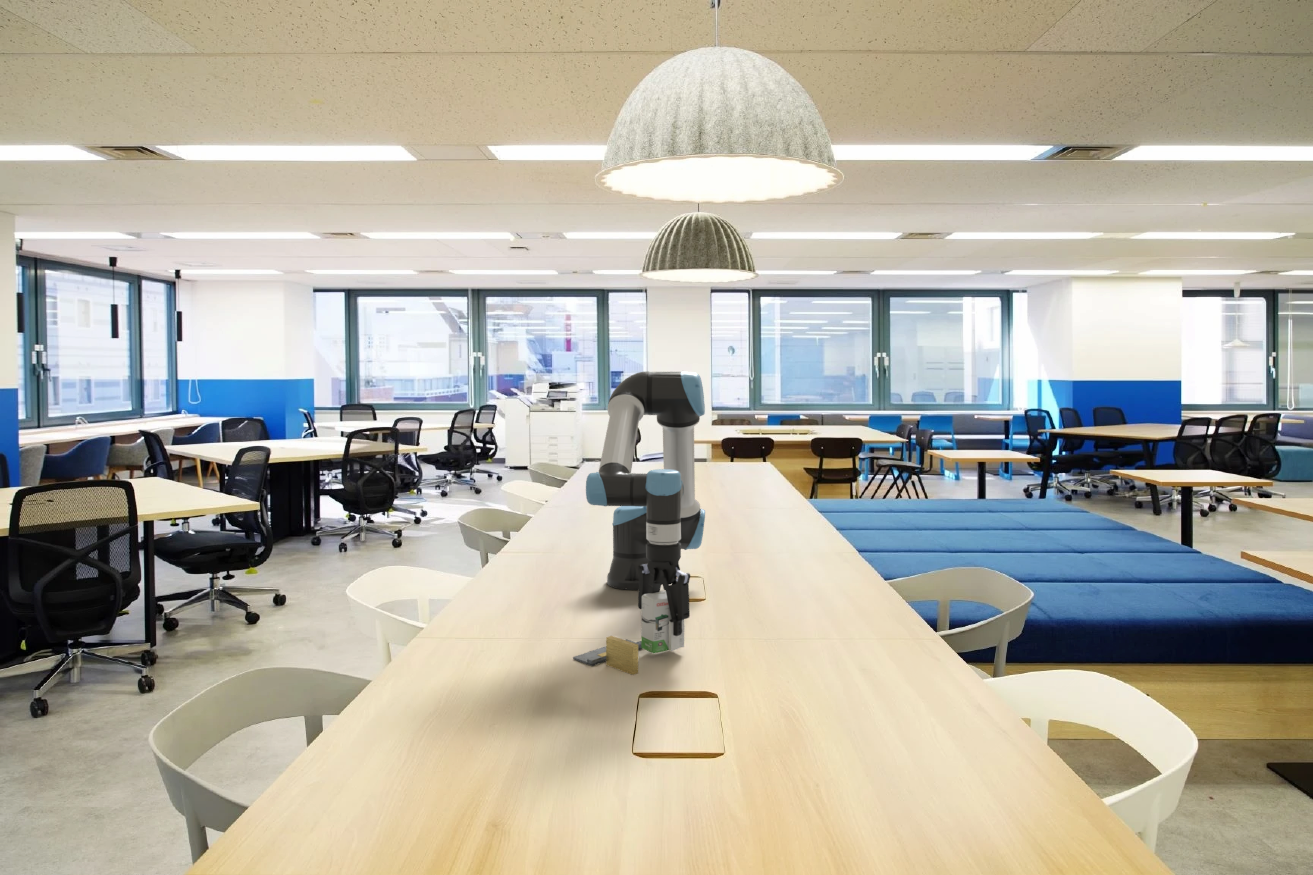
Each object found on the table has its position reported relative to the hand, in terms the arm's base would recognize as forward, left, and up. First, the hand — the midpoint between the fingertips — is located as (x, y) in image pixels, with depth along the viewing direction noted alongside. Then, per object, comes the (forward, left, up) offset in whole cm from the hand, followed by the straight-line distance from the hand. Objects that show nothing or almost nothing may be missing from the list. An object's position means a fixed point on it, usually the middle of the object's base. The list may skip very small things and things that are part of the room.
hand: (663, 645), depth 175 cm
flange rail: (-4, -8, -2) cm, 9 cm away
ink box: (0, 0, -1) cm, 1 cm away
